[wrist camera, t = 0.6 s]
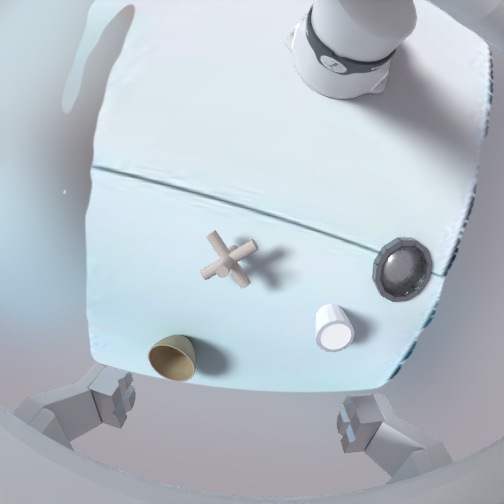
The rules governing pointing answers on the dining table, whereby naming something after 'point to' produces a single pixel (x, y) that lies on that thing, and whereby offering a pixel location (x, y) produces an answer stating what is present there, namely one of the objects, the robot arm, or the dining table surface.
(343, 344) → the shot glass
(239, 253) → the pipe connector
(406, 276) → the bowl
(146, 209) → the dining table surface
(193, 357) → the tan bowl
